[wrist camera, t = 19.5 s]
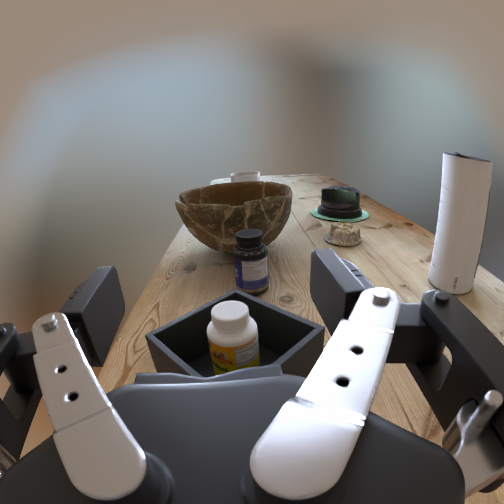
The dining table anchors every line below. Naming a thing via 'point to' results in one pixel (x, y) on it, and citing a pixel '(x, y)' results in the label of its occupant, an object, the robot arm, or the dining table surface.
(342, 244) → the cake
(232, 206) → the bowl
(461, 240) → the speaker
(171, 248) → the dining table surface
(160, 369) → the open storage box
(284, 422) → the robot arm
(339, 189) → the fedora hat
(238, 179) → the planter
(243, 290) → the pill bottle
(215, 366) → the supplement bottle
